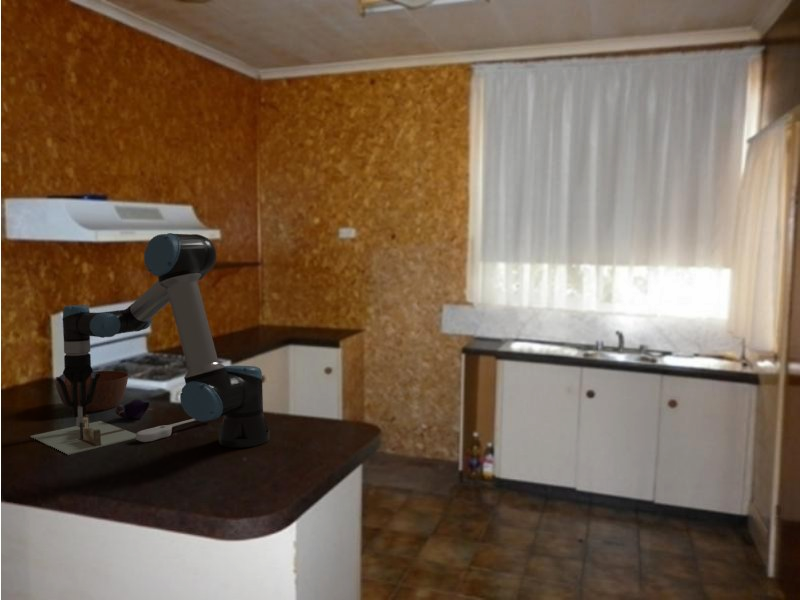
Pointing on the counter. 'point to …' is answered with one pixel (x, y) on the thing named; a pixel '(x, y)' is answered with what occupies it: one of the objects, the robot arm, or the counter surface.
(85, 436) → the fence fixed
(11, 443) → the counter surface
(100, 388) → the bowl
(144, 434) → the spatula
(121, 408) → the toy
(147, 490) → the counter surface
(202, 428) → the counter surface
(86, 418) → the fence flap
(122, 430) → the card
